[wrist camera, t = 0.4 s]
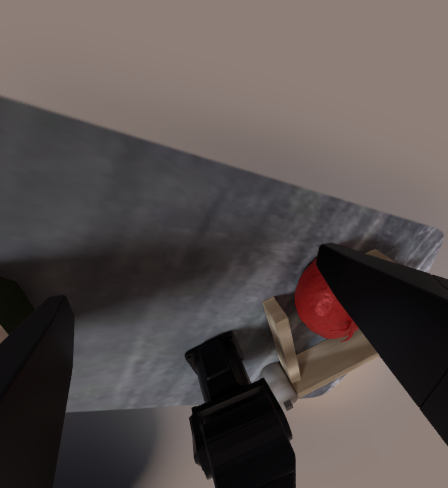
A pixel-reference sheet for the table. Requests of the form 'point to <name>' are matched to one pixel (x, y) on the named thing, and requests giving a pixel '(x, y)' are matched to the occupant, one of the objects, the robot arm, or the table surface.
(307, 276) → the pomegranate
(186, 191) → the table surface
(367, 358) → the frame
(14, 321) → the wine bottle
